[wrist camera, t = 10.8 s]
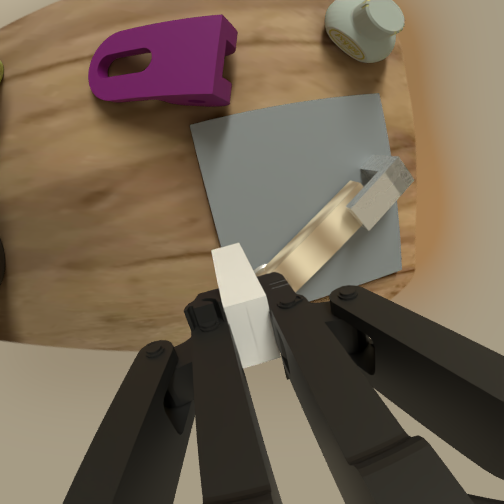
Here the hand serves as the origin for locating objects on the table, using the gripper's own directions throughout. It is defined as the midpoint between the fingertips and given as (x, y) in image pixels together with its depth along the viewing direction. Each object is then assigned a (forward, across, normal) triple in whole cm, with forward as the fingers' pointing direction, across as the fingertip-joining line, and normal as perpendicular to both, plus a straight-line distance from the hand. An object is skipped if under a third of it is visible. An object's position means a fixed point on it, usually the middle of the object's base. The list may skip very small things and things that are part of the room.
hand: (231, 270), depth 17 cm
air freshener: (+27, +26, +20) cm, 42 cm away
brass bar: (+24, +12, -9) cm, 28 cm away
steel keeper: (+25, +21, -3) cm, 33 cm away
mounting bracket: (+27, -2, +19) cm, 33 cm away
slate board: (+26, +14, -4) cm, 30 cm away
